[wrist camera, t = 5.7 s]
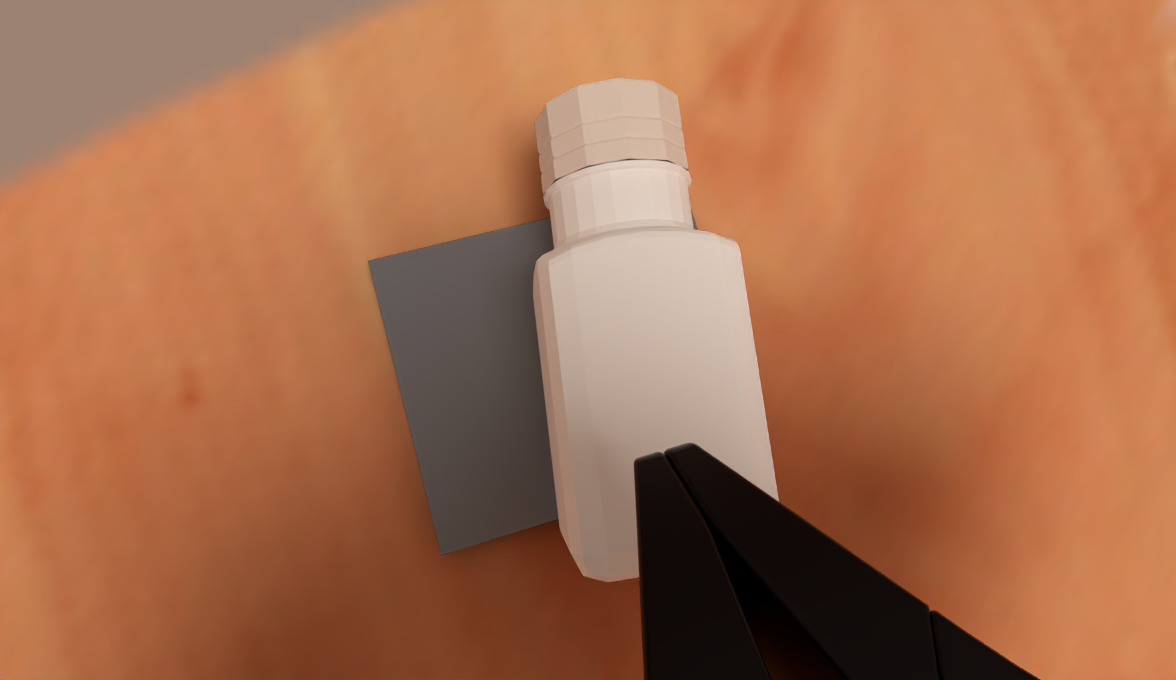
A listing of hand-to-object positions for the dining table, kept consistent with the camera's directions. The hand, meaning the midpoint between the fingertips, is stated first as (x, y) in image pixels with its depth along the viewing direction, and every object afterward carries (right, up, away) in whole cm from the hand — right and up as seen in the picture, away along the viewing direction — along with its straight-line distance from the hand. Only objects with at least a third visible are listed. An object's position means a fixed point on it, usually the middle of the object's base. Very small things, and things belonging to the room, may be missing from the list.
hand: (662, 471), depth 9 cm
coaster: (-1, +1, +7) cm, 8 cm away
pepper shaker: (+1, -3, +4) cm, 5 cm away
